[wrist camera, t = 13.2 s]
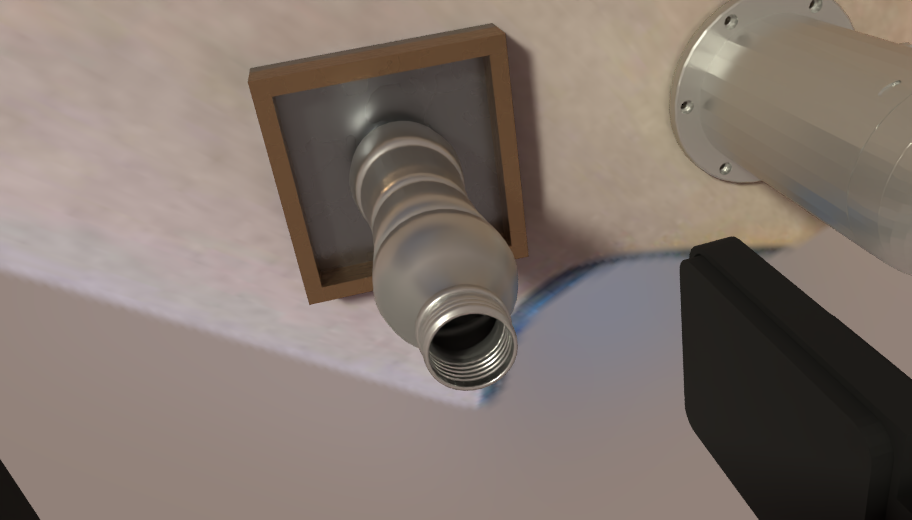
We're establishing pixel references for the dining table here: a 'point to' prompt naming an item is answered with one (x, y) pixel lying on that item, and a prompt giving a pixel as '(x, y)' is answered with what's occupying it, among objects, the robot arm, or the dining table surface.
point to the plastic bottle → (435, 256)
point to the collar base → (364, 109)
